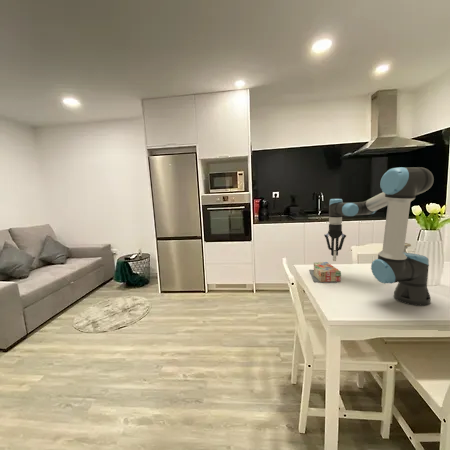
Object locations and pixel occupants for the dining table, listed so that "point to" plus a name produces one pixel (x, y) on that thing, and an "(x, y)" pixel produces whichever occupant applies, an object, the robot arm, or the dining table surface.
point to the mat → (317, 279)
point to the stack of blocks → (326, 272)
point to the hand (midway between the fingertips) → (334, 260)
